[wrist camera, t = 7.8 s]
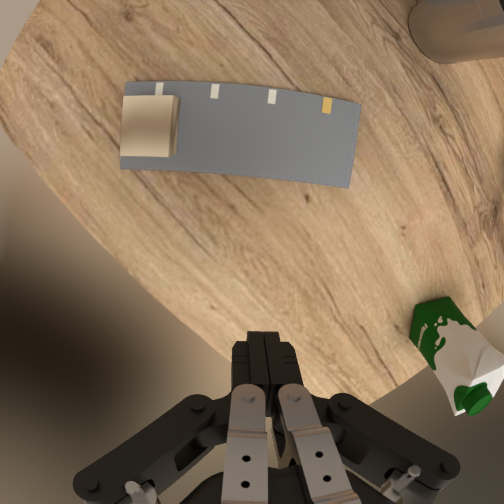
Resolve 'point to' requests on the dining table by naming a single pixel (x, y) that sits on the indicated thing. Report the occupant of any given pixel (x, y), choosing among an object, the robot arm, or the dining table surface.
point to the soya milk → (457, 355)
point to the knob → (149, 125)
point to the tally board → (256, 132)
